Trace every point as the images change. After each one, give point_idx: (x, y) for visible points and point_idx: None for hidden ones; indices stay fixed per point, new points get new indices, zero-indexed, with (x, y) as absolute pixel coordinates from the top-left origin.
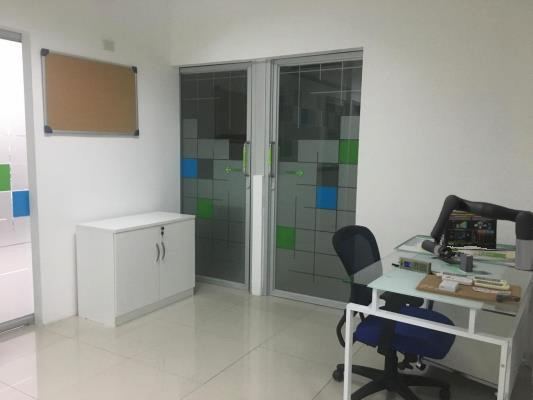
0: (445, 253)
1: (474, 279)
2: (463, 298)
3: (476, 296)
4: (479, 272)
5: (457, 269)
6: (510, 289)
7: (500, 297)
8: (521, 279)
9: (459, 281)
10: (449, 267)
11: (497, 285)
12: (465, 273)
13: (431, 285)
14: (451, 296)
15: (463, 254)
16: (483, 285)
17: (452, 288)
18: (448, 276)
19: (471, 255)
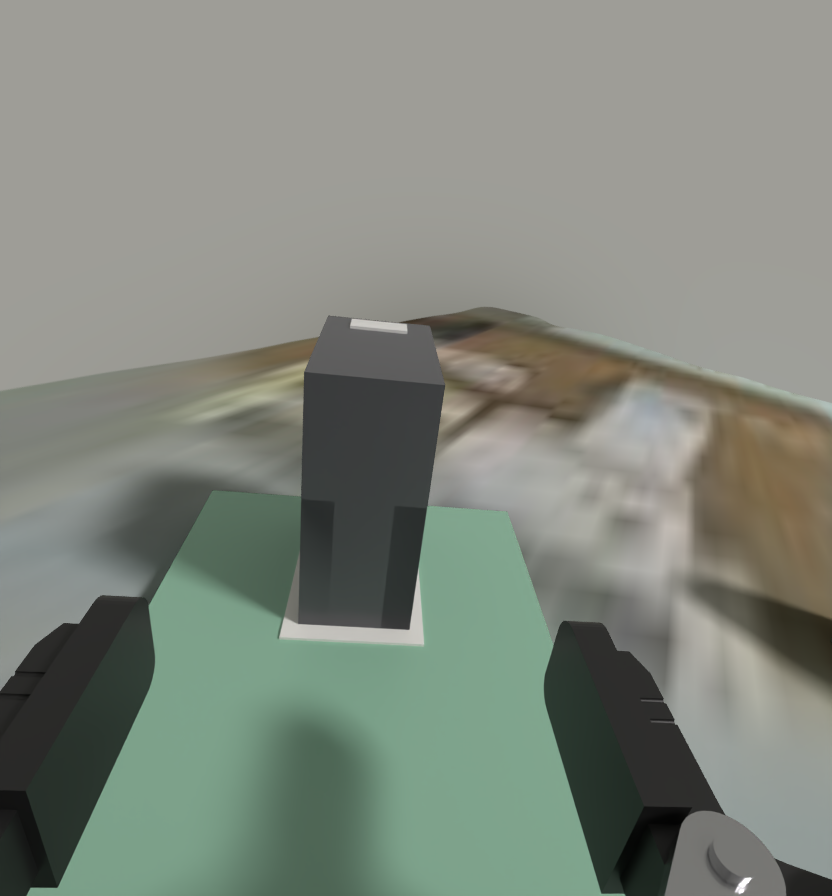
0: (747, 873)
1: None
2: (607, 348)
3: (548, 347)
4: (236, 506)
5: (431, 656)
6: None
7: (457, 332)
8: (20, 400)
9: (556, 446)
10: (523, 820)
11: None
12: (430, 507)
13: (755, 434)
14: (652, 361)
15: (411, 362)
16: None
17: (633, 396)
18: (618, 537)
19: (326, 326)
